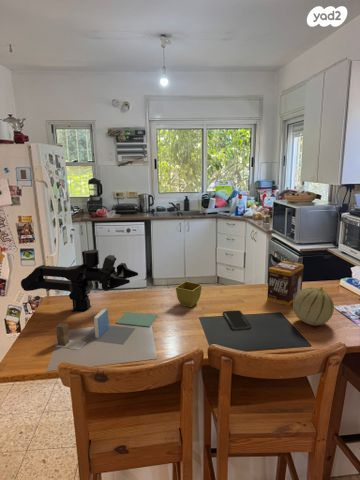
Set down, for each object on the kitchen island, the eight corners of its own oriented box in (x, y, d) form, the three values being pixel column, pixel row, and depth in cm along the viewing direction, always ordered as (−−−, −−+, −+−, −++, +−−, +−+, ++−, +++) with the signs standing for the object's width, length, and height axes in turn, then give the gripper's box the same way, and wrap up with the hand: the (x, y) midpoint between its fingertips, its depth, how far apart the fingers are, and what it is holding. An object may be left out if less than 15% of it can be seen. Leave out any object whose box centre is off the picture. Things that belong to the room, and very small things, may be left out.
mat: (82, 340, 121) (81, 339, 121) (97, 325, 132) (97, 324, 132) (123, 345, 117) (123, 344, 117) (135, 329, 129) (135, 328, 129)
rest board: (116, 324, 133) (116, 322, 132) (126, 314, 142) (126, 311, 142) (149, 328, 129) (149, 326, 129) (157, 317, 139) (157, 314, 139)
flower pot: (192, 310, 145) (192, 290, 143) (175, 306, 149) (175, 287, 147) (202, 303, 152) (202, 284, 150) (185, 299, 157) (185, 281, 154)
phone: (232, 328, 127) (222, 311, 142) (232, 331, 127) (222, 313, 142) (252, 326, 128) (240, 310, 143) (252, 329, 128) (240, 312, 143)
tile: (95, 337, 122) (93, 317, 120) (105, 327, 129) (104, 308, 128) (99, 338, 121) (97, 318, 120) (109, 327, 129) (107, 308, 127)
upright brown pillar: (56, 348, 116) (53, 328, 115) (64, 341, 121) (62, 321, 119) (79, 351, 114) (77, 330, 113) (86, 344, 119) (84, 324, 117)
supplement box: (266, 300, 154) (268, 267, 151) (280, 290, 166) (282, 260, 162) (288, 306, 148) (290, 272, 144) (301, 295, 159) (304, 264, 156)
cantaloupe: (284, 318, 136) (286, 283, 132) (312, 312, 141) (314, 278, 138) (311, 335, 123) (314, 297, 119) (340, 327, 128) (344, 290, 125)
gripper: (86, 262, 130) (123, 265, 127) (108, 250, 148) (141, 252, 144) (88, 289, 133) (125, 293, 129) (109, 274, 150) (142, 277, 147)
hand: (133, 277), depth 137 cm, fingers open, 9 cm apart
